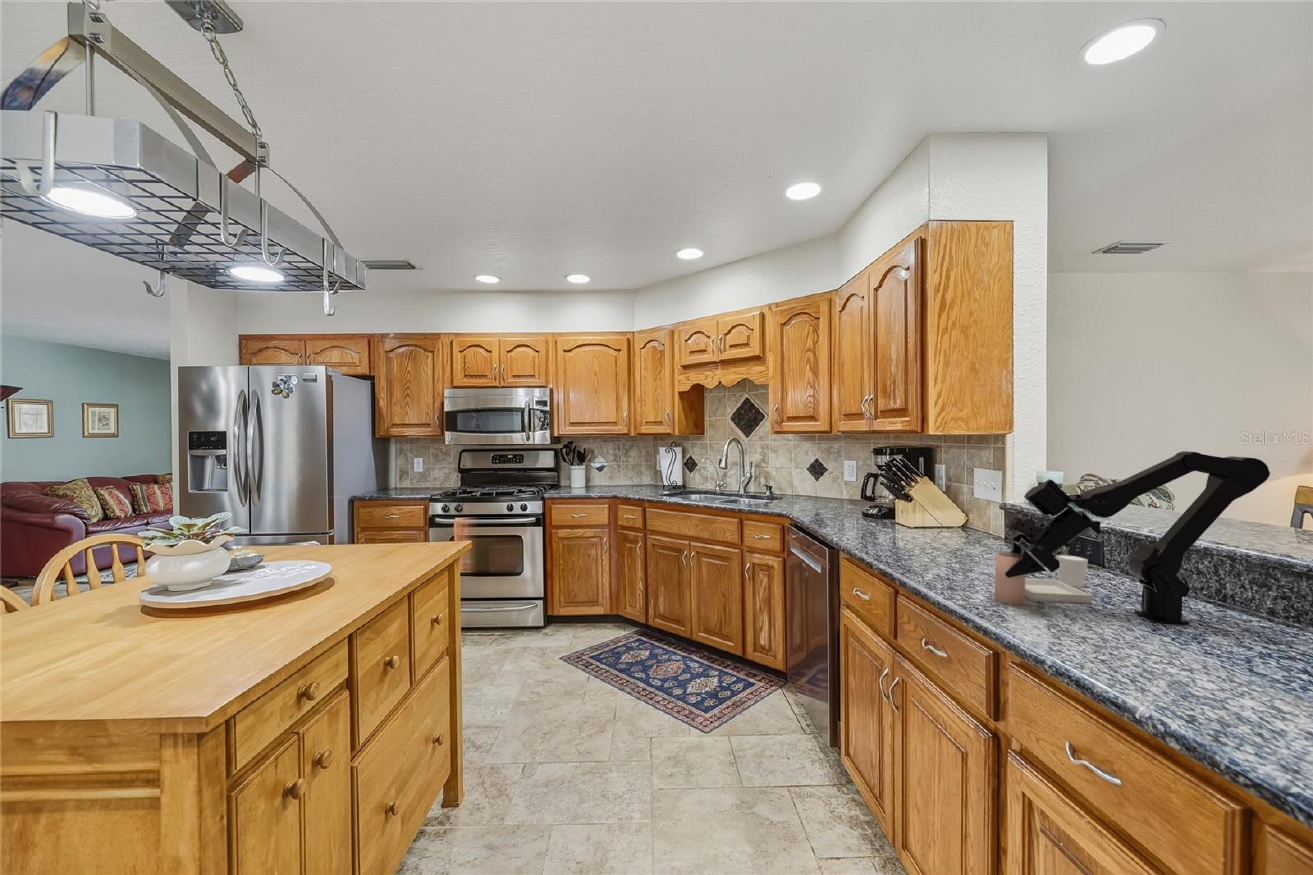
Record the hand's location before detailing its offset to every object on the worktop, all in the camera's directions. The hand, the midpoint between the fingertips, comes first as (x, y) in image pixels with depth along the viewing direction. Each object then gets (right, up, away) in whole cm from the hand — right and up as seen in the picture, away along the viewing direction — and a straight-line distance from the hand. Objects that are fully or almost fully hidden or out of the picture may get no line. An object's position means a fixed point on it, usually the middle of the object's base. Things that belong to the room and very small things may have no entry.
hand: (1003, 572), depth 127 cm
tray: (+14, -7, +5) cm, 16 cm away
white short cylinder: (+28, -7, +15) cm, 32 cm away
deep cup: (+1, -7, 0) cm, 7 cm away
